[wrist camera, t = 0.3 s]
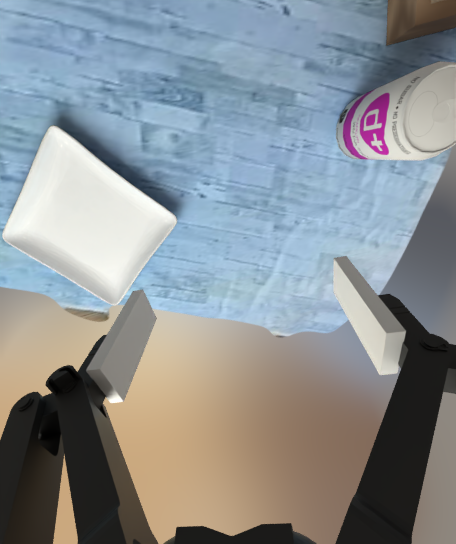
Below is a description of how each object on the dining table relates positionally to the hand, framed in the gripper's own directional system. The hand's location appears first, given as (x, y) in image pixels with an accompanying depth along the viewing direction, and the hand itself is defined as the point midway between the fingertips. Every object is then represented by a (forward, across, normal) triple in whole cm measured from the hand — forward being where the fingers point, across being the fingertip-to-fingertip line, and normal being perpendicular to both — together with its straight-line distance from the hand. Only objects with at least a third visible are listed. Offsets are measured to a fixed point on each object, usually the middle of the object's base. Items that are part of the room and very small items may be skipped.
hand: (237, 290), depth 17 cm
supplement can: (+29, +20, +5) cm, 35 cm away
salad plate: (+26, -24, 0) cm, 36 cm away
